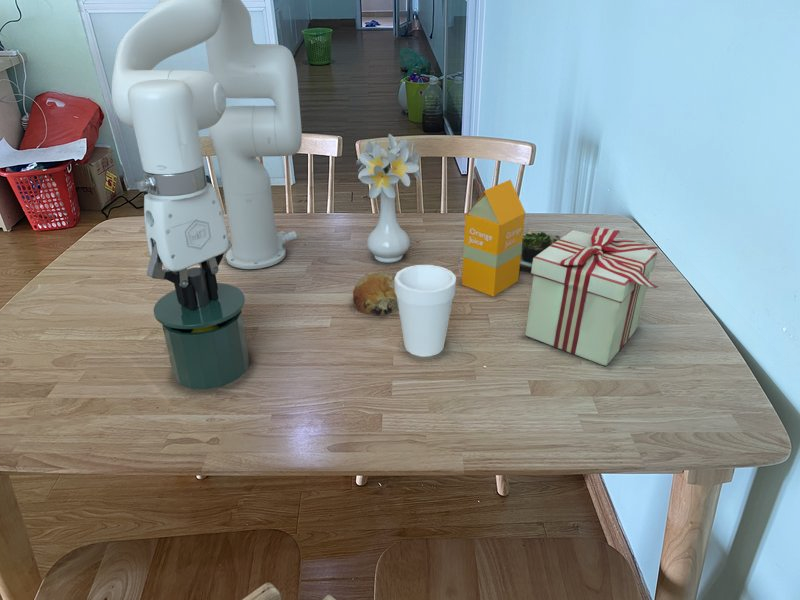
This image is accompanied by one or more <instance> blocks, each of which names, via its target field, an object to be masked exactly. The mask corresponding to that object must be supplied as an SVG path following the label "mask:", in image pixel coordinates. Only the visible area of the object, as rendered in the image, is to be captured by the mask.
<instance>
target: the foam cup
mask: <svg viewBox="0 0 800 600" xmlns="http://www.w3.org/2000/svg"><path fill="white" fill-rule="evenodd" d="M394 276H395V278H394V280H395V294H396V296H397V302H398V308H399V310H398V314H399V320H400V326H401V333H402V334H401V335H402V339H403V346H404V348H405V350H406V351H407V352H408V353H409V354H412V355H413V356H417V357H420V358H421V357H422V358H423V357H425V358H426V357H433V356H435V355H438V354H440V353H441V352H442V351H443V350H444V348H445V343H446V336H447V332H448V326H449V321H450V316H451V311H452V305H453V300H454V298H455V295H456V291H457V277H456V275H455V274H454V273H453V270H450V269H448V268H445V267H444V266H439V265H434V264H415V265H411V266H406V267H403V268H402V269H400V270H399V271H397V272H396V274H395V275H394Z"/></svg>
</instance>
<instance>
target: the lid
mask: <svg viewBox="0 0 800 600" xmlns="http://www.w3.org/2000/svg"><path fill="white" fill-rule="evenodd" d="M187 274H188V284H191V285H192V286H193V290H194V295H195V300H196V305H197V308H196V310H194V311H191V310H189V309H187V308H185V307H183V306H182V305H180V304H179V302H178V299H177V295H176V290H175V289H174V290H172V291H170V292H168V293H166V294H165V295H163V296H161V297H160V298H159V299H158V300H157V301H156V302H155V304H154V305H153V310H152V311H153V316H154V318H155V320H156V321H157V322H158V323H160V324H161V325H162V324H163V325H165V326H168V327H172V328H178V329H196V328H204V327H208V326H212V325H216V324H219V323H222V322H224V321H226V320H228V319H230V318H232V317H234V316H235V315H236V314H238V313H239V312H240V311H241V312H242V310H243V309H244V307H245V305H246V298H245V294H244V292H243V291H242V289H240V288H239V287H236V286H234V285H232V284H230V283H229V284H228V283H223V282H217V286H218V290H217V293H218V299H217V300H212V299H210V296H209V290H208V285H207V279H206V273H205V270H204V269H203V268H200V267H189V268H187Z"/></svg>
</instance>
